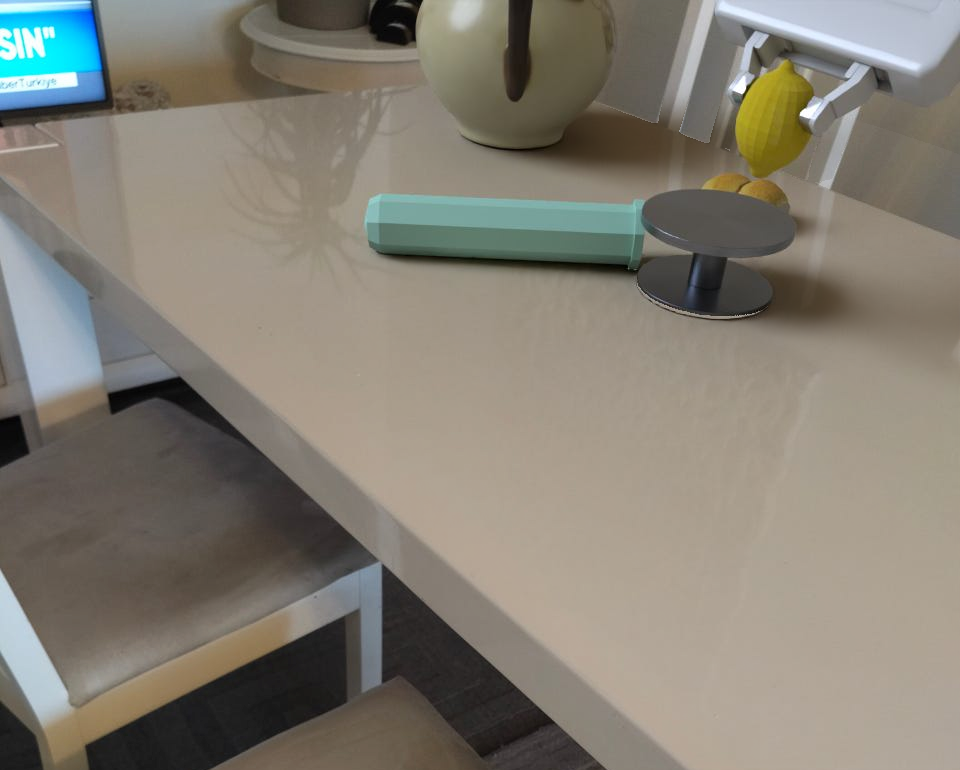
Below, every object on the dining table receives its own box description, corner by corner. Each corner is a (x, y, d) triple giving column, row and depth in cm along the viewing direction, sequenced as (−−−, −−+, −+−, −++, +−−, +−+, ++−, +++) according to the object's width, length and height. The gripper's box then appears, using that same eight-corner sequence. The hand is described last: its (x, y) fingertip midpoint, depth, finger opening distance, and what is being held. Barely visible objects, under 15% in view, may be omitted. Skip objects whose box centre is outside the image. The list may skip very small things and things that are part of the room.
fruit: (808, 192, 72) (841, 70, 66) (735, 190, 71) (762, 67, 66) (787, 165, 76) (816, 48, 70) (717, 163, 75) (741, 46, 70)
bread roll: (718, 196, 104) (727, 156, 101) (795, 220, 100) (806, 179, 97) (678, 216, 99) (685, 175, 96) (756, 242, 95) (766, 200, 92)
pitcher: (520, 95, 126) (538, -152, 109) (651, 148, 114) (694, -121, 96) (378, 122, 116) (372, -147, 98) (505, 184, 103) (524, -112, 86)
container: (359, 184, 84) (648, 197, 84) (368, 189, 90) (639, 201, 90) (359, 257, 86) (641, 270, 86) (368, 257, 92) (633, 269, 92)
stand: (795, 282, 89) (815, 211, 84) (748, 337, 81) (767, 262, 76) (664, 247, 93) (676, 178, 89) (606, 295, 85) (616, 222, 81)
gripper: (1041, 9, 64) (897, 188, 67) (803, -49, 76) (689, 106, 78) (1032, -69, 59) (878, 128, 62) (780, -119, 71) (658, 49, 73)
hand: (770, 115), depth 70 cm, fingers closed on fruit, 5 cm apart
